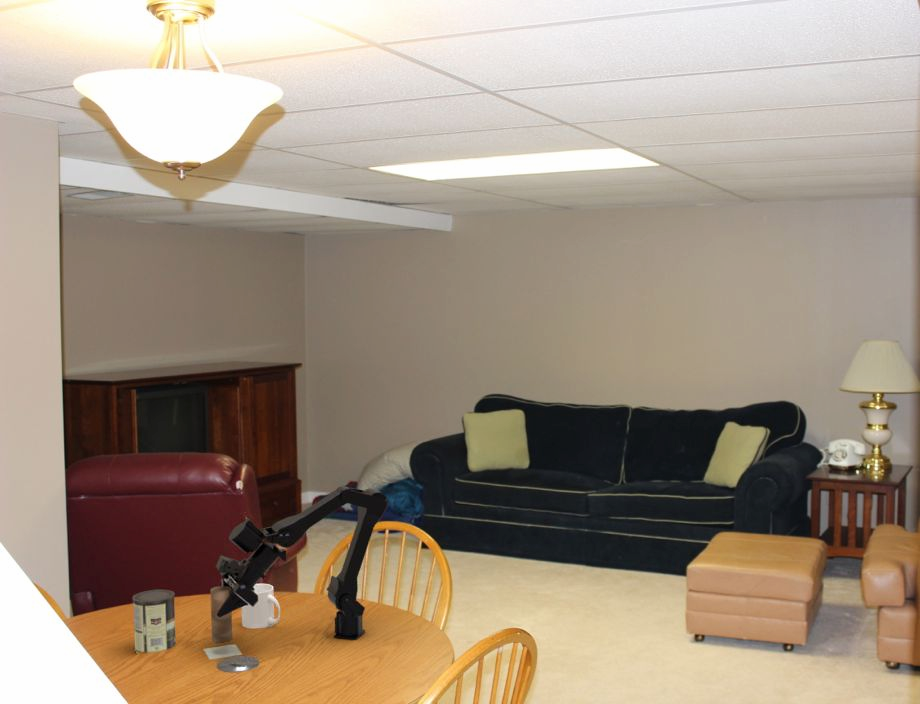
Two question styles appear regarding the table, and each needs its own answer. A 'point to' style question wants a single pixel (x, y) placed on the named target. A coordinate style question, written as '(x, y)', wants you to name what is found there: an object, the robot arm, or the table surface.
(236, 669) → the grey saucer
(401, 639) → the table surface
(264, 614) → the mug
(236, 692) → the table surface
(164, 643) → the coffee can
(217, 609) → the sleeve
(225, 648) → the stand
